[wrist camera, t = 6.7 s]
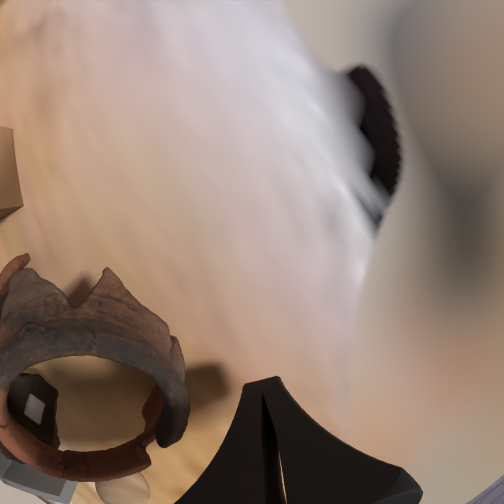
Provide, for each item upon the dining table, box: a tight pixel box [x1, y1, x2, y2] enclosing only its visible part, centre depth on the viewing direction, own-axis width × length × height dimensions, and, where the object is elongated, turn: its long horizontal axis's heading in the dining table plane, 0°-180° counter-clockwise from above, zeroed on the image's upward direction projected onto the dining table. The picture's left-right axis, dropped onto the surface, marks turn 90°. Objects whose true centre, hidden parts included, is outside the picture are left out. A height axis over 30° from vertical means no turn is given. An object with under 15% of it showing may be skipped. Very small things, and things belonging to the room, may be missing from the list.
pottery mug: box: [0, 253, 190, 482], centre depth 9 cm, size 12×9×8 cm
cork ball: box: [95, 472, 150, 504], centre depth 12 cm, size 4×4×4 cm
